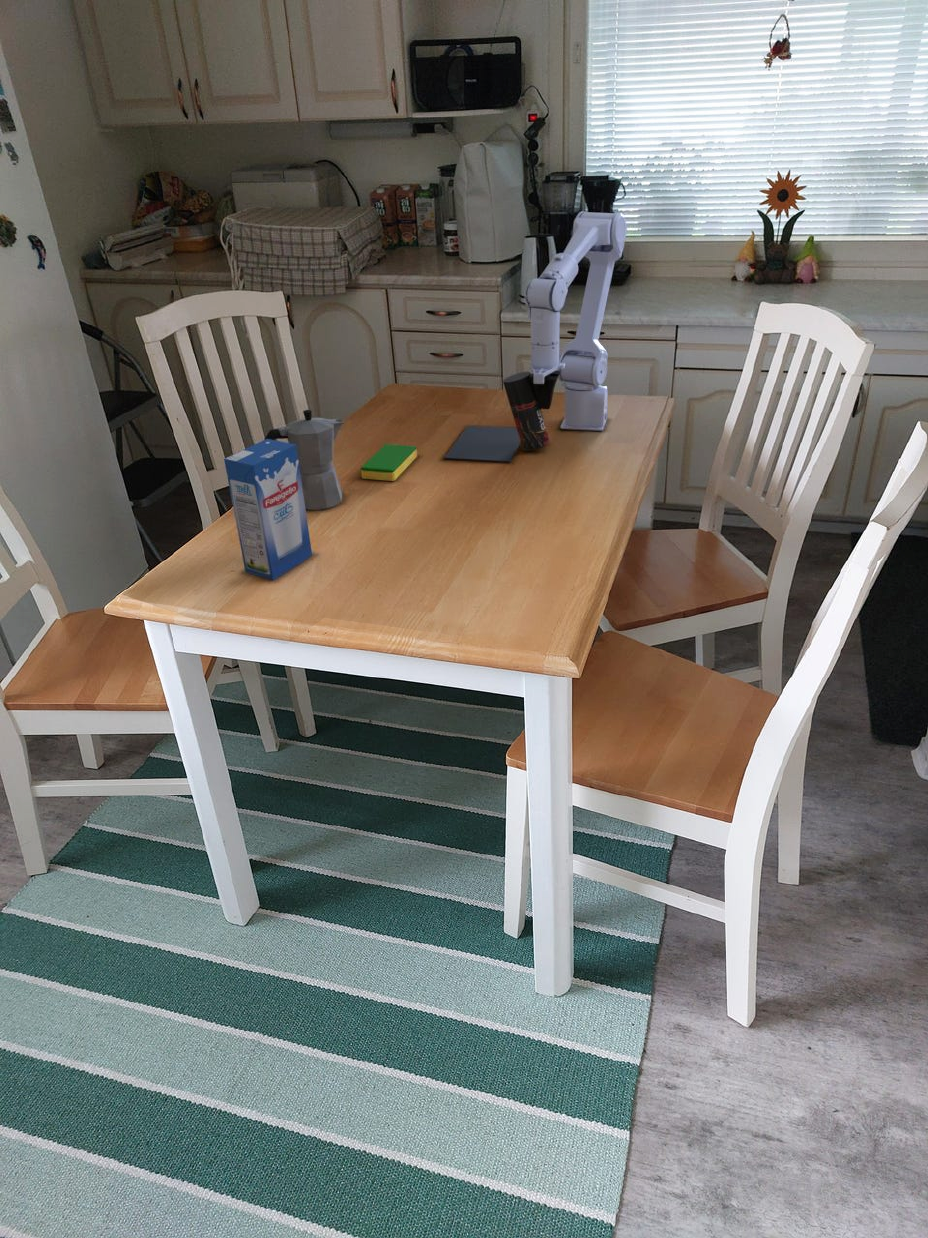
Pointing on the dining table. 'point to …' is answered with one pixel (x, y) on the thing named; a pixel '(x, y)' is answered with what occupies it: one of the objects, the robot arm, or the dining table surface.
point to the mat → (485, 444)
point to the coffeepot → (314, 458)
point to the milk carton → (269, 507)
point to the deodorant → (526, 411)
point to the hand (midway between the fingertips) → (544, 407)
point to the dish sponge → (389, 462)
